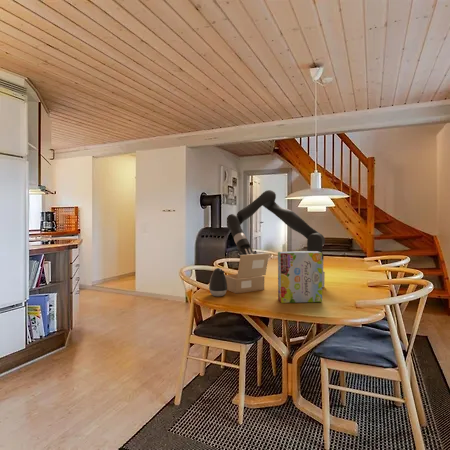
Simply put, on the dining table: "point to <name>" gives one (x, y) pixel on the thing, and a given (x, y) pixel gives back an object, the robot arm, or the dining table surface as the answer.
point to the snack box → (300, 276)
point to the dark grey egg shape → (218, 283)
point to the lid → (252, 265)
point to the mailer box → (244, 283)
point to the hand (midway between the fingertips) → (252, 265)
